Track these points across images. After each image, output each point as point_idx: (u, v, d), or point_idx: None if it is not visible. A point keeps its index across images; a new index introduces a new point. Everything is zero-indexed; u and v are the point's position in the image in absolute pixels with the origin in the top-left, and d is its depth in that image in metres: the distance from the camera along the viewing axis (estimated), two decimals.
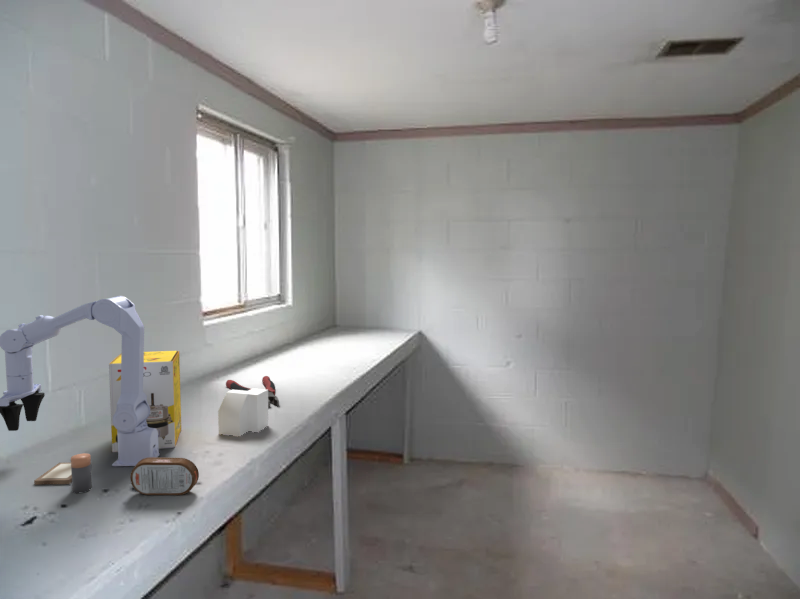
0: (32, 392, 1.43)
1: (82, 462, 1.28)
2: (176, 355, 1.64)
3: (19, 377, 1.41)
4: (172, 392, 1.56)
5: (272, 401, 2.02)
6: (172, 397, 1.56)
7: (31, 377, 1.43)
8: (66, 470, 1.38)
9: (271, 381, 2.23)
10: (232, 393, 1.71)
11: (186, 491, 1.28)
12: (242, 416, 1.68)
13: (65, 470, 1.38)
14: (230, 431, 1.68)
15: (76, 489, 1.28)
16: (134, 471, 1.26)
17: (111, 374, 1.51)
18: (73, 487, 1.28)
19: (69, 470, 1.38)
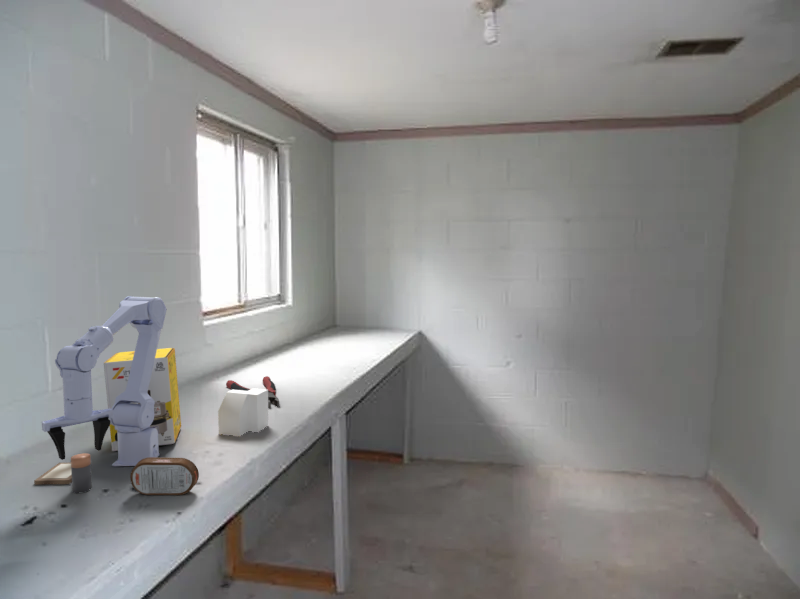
0: (82, 420, 1.26)
1: (82, 462, 1.28)
2: (171, 352, 1.64)
3: (68, 401, 1.25)
4: (168, 388, 1.56)
5: (272, 402, 2.01)
6: (169, 393, 1.56)
7: (83, 402, 1.26)
8: (66, 470, 1.38)
9: (271, 381, 2.23)
10: (232, 393, 1.71)
11: (186, 491, 1.28)
12: (242, 416, 1.68)
13: (65, 470, 1.38)
14: (230, 431, 1.68)
15: (76, 489, 1.28)
16: (134, 471, 1.26)
17: (106, 373, 1.51)
18: (73, 487, 1.28)
19: (69, 470, 1.38)
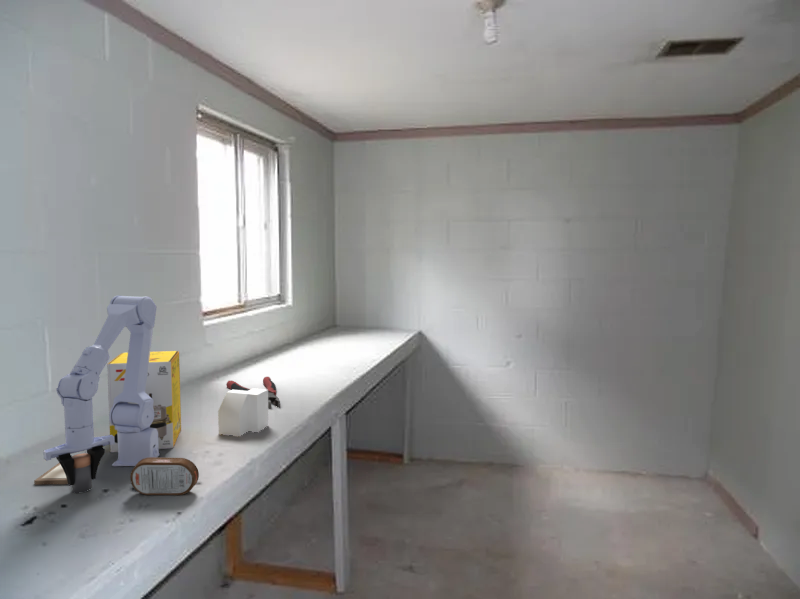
0: (84, 448, 1.27)
1: (82, 462, 1.28)
2: (175, 355, 1.63)
3: (69, 429, 1.26)
4: (170, 392, 1.55)
5: (273, 402, 2.01)
6: (170, 397, 1.55)
7: (84, 431, 1.27)
8: None
9: (272, 382, 2.22)
10: (232, 393, 1.71)
11: (186, 491, 1.28)
12: (242, 416, 1.68)
13: None
14: (230, 431, 1.68)
15: (76, 489, 1.28)
16: (134, 471, 1.26)
17: (109, 374, 1.51)
18: (73, 487, 1.28)
19: None
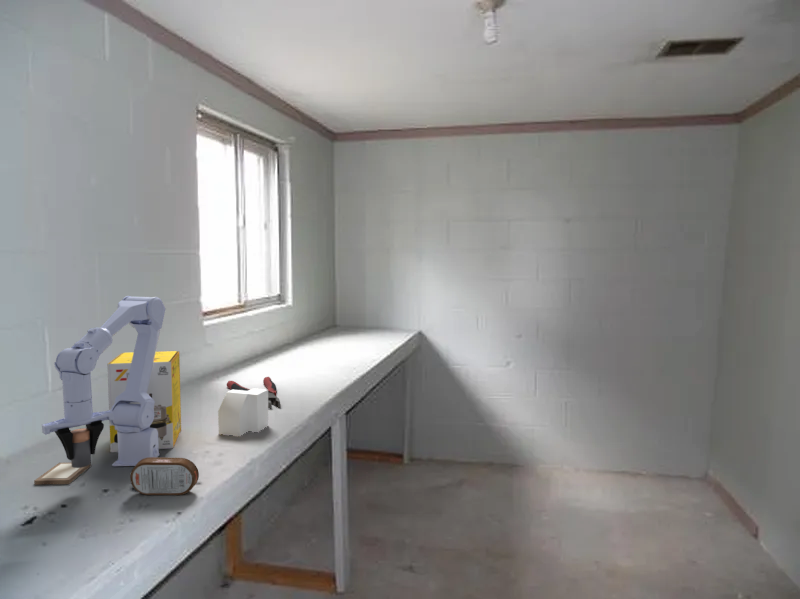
0: (82, 422, 1.26)
1: (81, 437, 1.27)
2: (175, 355, 1.63)
3: (68, 403, 1.25)
4: (170, 393, 1.55)
5: (273, 402, 2.01)
6: (170, 398, 1.55)
7: (83, 405, 1.26)
8: (66, 470, 1.38)
9: (272, 382, 2.22)
10: (232, 393, 1.71)
11: (186, 491, 1.28)
12: (242, 416, 1.68)
13: (65, 470, 1.38)
14: (230, 431, 1.68)
15: (75, 464, 1.27)
16: (134, 471, 1.26)
17: (109, 374, 1.51)
18: (72, 462, 1.28)
19: (69, 470, 1.38)
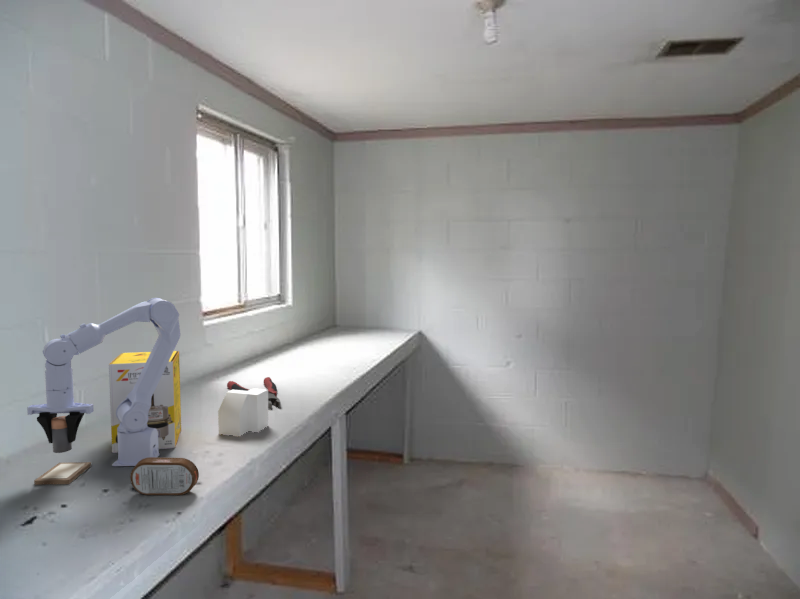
0: (53, 410, 1.33)
1: (56, 424, 1.34)
2: (176, 355, 1.63)
3: (46, 390, 1.34)
4: (172, 392, 1.55)
5: (274, 403, 2.00)
6: (172, 397, 1.56)
7: (54, 394, 1.33)
8: (66, 470, 1.38)
9: None
10: (232, 393, 1.71)
11: (186, 491, 1.28)
12: (242, 416, 1.68)
13: (65, 470, 1.38)
14: (230, 431, 1.68)
15: (53, 448, 1.36)
16: (134, 471, 1.26)
17: (111, 374, 1.51)
18: None
19: (69, 470, 1.38)
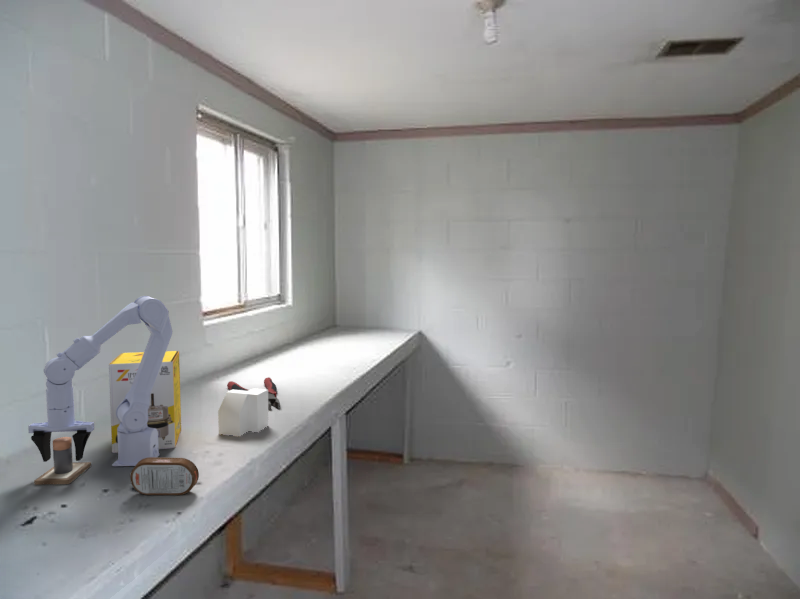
0: (54, 429, 1.34)
1: (57, 445, 1.35)
2: (176, 355, 1.63)
3: (47, 409, 1.35)
4: (172, 392, 1.55)
5: (273, 403, 1.99)
6: (172, 397, 1.56)
7: (55, 413, 1.33)
8: None
9: (273, 383, 2.20)
10: (232, 393, 1.71)
11: (186, 491, 1.28)
12: (242, 416, 1.68)
13: None
14: (230, 431, 1.68)
15: (54, 470, 1.36)
16: (134, 471, 1.26)
17: (111, 374, 1.51)
18: None
19: None
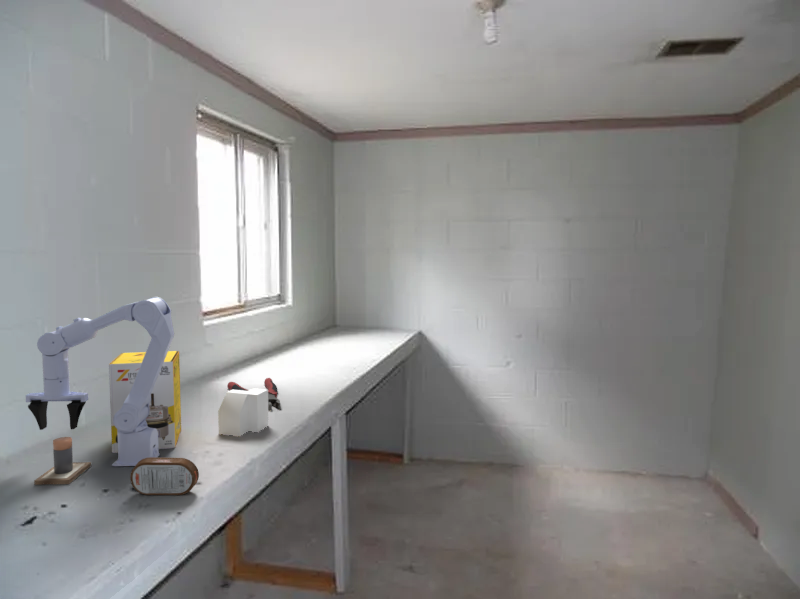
0: (50, 398, 1.40)
1: (57, 445, 1.35)
2: (176, 355, 1.63)
3: (43, 379, 1.41)
4: (172, 392, 1.55)
5: (274, 404, 1.99)
6: (172, 397, 1.56)
7: (51, 383, 1.40)
8: None
9: (273, 383, 2.20)
10: (232, 393, 1.71)
11: (186, 491, 1.28)
12: (242, 416, 1.68)
13: None
14: (230, 431, 1.68)
15: (54, 469, 1.36)
16: (134, 471, 1.26)
17: (111, 374, 1.51)
18: None
19: None
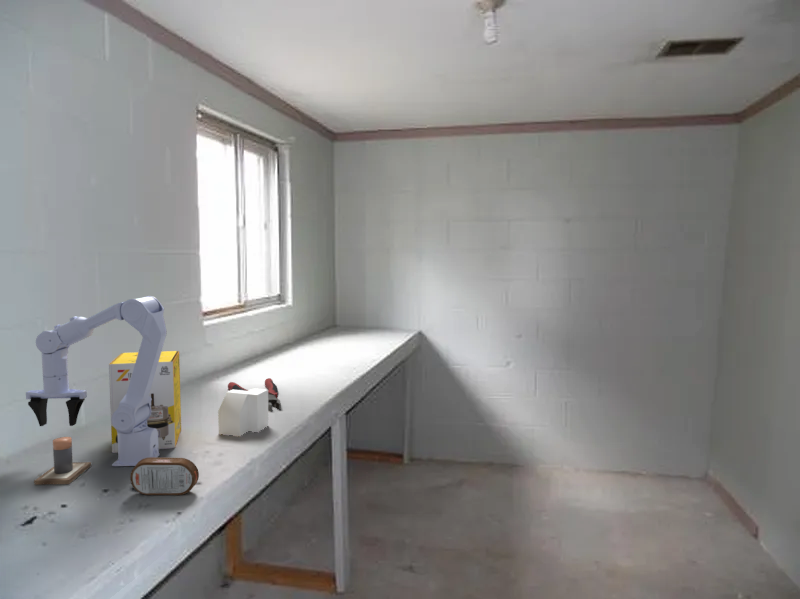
0: (49, 395, 1.43)
1: (57, 445, 1.35)
2: (176, 355, 1.63)
3: (43, 376, 1.44)
4: (172, 392, 1.55)
5: (274, 404, 1.98)
6: (172, 397, 1.56)
7: (50, 380, 1.43)
8: None
9: (274, 384, 2.19)
10: (232, 393, 1.71)
11: (186, 491, 1.28)
12: (242, 416, 1.68)
13: None
14: (230, 431, 1.68)
15: (54, 469, 1.36)
16: (134, 471, 1.26)
17: (111, 374, 1.51)
18: None
19: None
